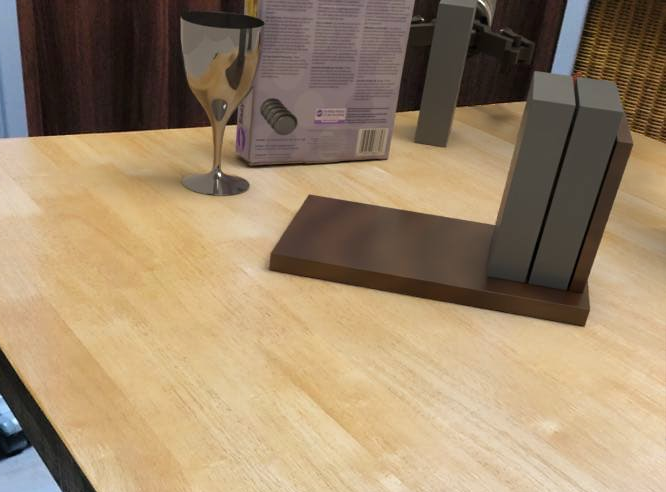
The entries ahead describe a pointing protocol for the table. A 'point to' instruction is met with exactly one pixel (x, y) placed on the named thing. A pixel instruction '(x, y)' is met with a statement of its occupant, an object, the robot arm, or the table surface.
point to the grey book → (445, 71)
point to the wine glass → (220, 80)
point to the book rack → (437, 251)
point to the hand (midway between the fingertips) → (451, 54)
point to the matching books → (554, 178)
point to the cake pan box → (324, 80)
